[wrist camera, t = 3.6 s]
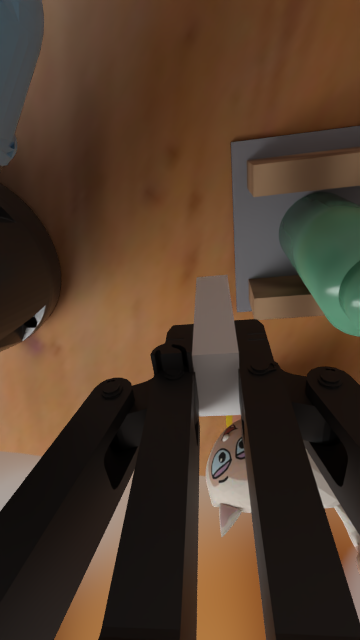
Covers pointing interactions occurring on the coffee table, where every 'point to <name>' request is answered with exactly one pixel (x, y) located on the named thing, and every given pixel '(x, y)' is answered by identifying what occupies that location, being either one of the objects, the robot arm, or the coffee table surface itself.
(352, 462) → the robot arm
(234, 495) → the toy
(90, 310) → the coffee table surface
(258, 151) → the mat
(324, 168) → the rest
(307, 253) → the bottle
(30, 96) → the coffee table surface
